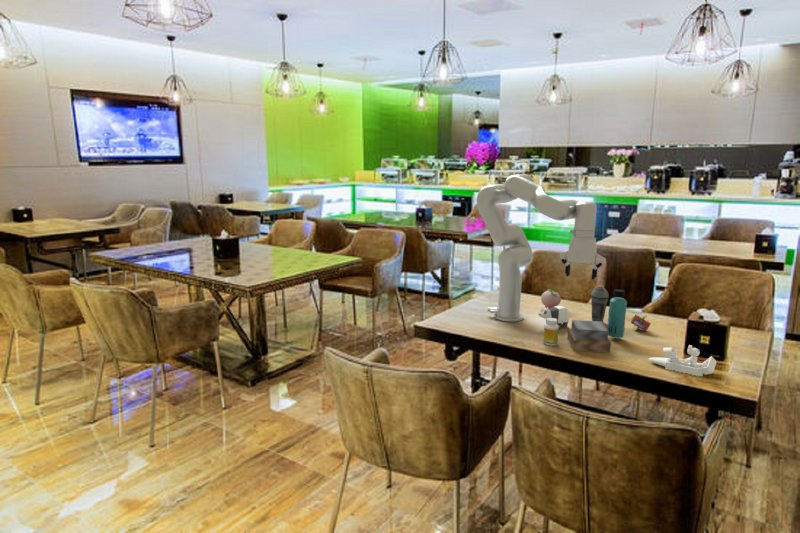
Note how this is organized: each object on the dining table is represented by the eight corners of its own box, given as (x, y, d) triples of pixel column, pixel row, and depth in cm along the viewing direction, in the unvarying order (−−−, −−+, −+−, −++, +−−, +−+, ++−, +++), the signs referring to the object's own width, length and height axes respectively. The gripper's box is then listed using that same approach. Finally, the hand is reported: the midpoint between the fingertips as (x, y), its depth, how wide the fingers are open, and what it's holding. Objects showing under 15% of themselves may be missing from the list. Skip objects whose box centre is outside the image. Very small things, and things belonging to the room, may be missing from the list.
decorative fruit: (536, 307, 248) (537, 286, 246) (551, 305, 251) (553, 285, 249) (547, 312, 240) (549, 291, 237) (563, 311, 242) (564, 290, 240)
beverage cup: (603, 319, 230) (607, 275, 226) (608, 324, 223) (612, 279, 219) (586, 318, 231) (590, 275, 227) (590, 324, 224) (594, 279, 220)
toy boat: (651, 357, 188) (654, 334, 186) (715, 371, 177) (719, 346, 175) (644, 367, 180) (647, 343, 178) (711, 382, 168) (715, 356, 166)
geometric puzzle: (656, 326, 215) (646, 309, 217) (651, 330, 210) (640, 312, 212) (641, 333, 220) (631, 316, 222) (635, 337, 215) (624, 319, 217)
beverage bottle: (623, 337, 209) (628, 288, 204) (624, 342, 203) (629, 292, 198) (605, 335, 211) (610, 287, 206) (606, 340, 205) (610, 291, 200)
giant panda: (561, 323, 225) (562, 301, 223) (570, 326, 221) (572, 305, 219) (533, 327, 219) (535, 305, 217) (542, 331, 215) (544, 309, 212)
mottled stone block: (573, 350, 194) (575, 330, 192) (567, 338, 207) (569, 319, 205) (609, 352, 192) (612, 331, 191) (601, 340, 205) (603, 320, 203)
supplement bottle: (555, 346, 198) (557, 322, 196) (541, 344, 201) (542, 319, 198) (559, 342, 202) (561, 318, 200) (545, 339, 205) (547, 316, 203)
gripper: (558, 233, 203) (555, 276, 206) (605, 237, 194) (601, 282, 198) (563, 231, 209) (560, 272, 213) (609, 234, 200) (605, 278, 204)
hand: (580, 277), depth 205 cm, fingers open, 9 cm apart
